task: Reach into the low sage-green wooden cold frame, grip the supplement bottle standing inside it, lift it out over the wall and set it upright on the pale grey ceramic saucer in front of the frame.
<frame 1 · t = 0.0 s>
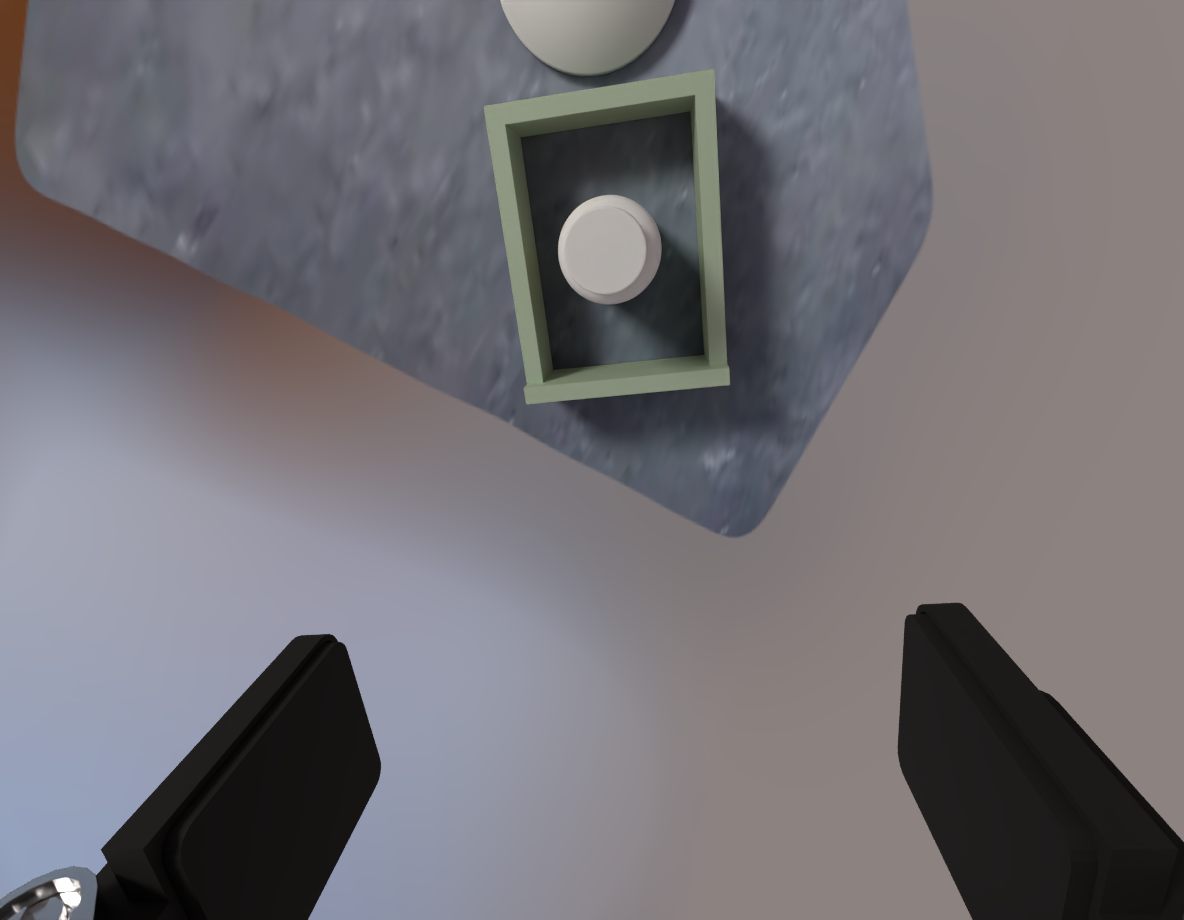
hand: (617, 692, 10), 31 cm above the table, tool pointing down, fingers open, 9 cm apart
cold frame: (616, 250, 37), on the table
supplement bottle: (616, 250, 37), resting in cold frame
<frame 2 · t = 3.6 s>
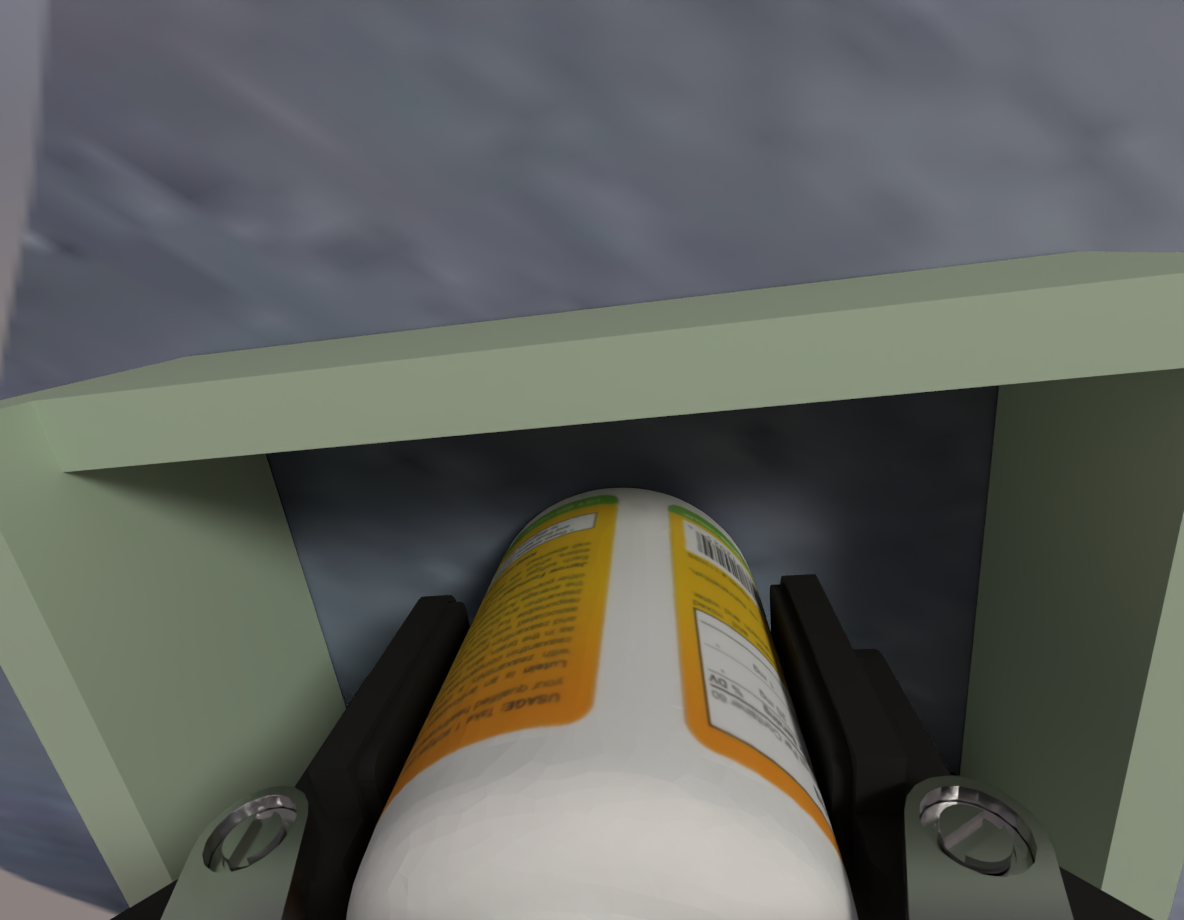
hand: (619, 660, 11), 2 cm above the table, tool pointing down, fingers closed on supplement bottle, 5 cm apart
cold frame: (624, 598, 13), on the table
supplement bottle: (624, 593, 13), resting in cold frame, touching gripper
when the fingers open (4 cm above the table, at t = 10.6 s): supplement bottle drops 1 cm, resting on saucer.
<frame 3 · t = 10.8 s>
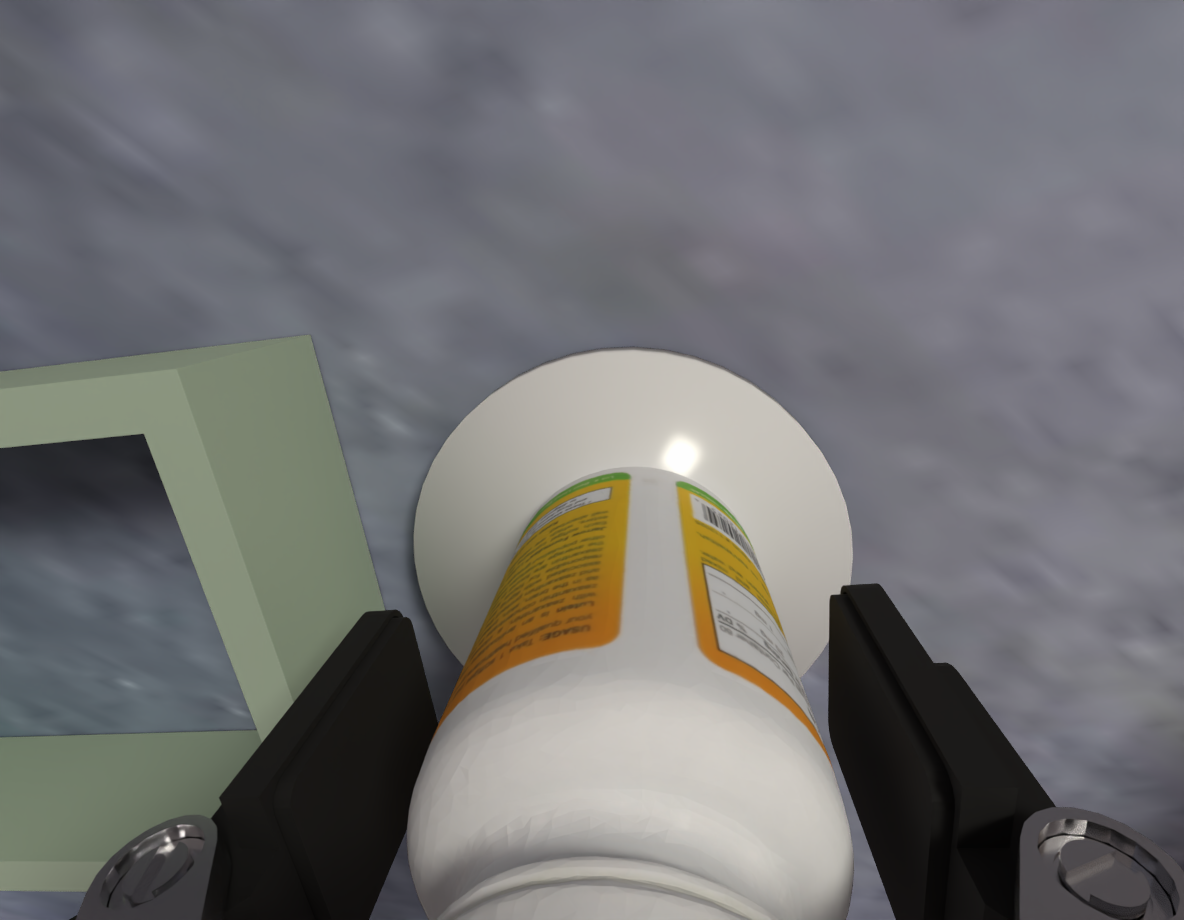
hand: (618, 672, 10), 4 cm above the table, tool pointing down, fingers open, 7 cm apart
saucer: (626, 554, 14), on the table
cold frame: (98, 588, 16), on the table
supplement bottle: (634, 566, 14), point 1 cm above the table, touching saucer
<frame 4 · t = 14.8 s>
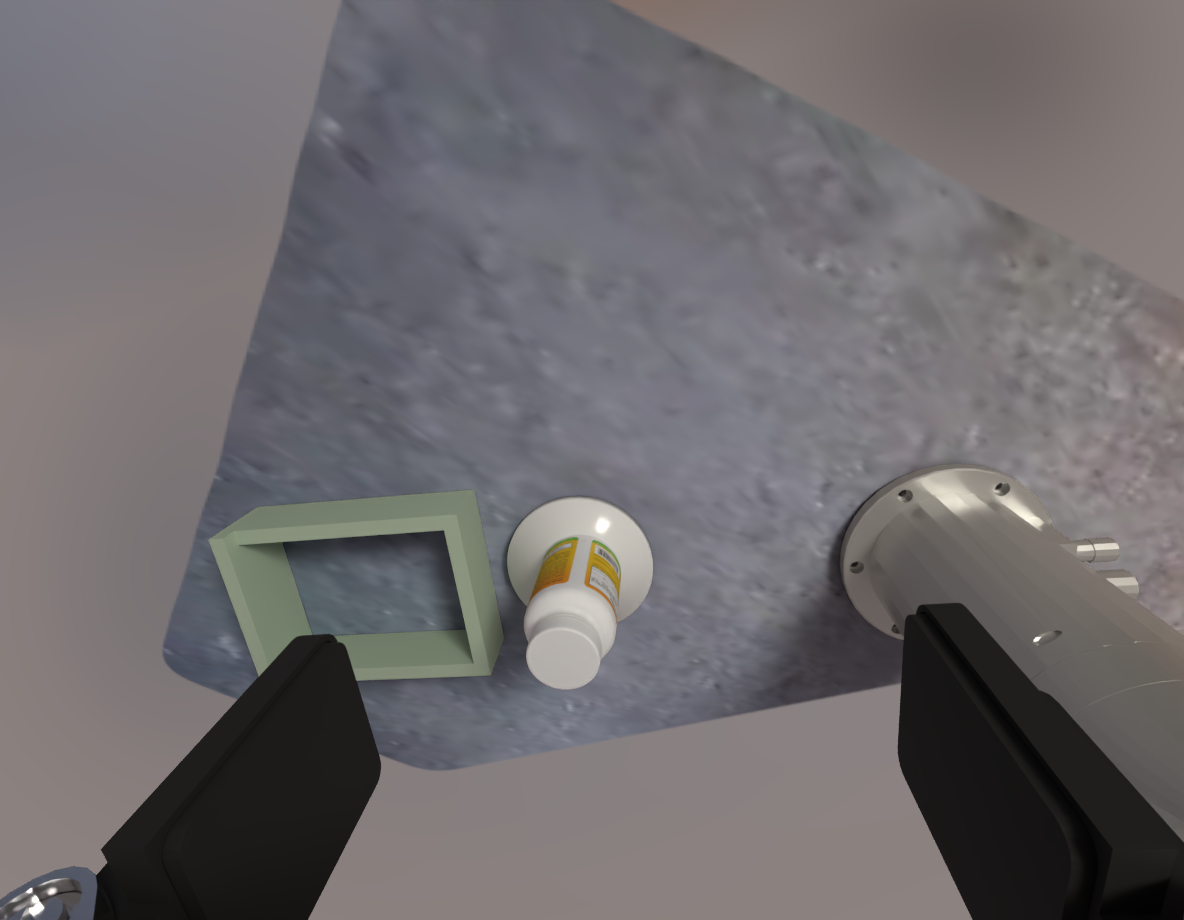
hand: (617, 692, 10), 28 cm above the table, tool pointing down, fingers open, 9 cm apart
saucer: (580, 562, 41), on the table
cold frame: (383, 574, 43), on the table
supplement bottle: (582, 566, 41), point 1 cm above the table, touching saucer
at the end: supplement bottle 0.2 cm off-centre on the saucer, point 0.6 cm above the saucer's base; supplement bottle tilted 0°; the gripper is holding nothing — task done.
